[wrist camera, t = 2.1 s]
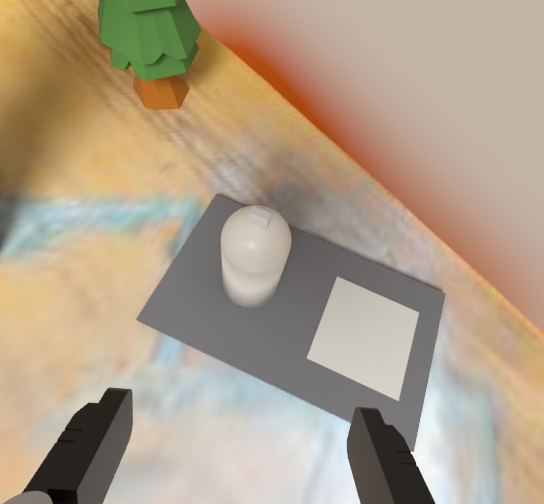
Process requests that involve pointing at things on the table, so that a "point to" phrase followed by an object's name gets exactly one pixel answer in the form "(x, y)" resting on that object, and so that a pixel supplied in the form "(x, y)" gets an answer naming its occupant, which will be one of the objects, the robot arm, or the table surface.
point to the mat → (308, 324)
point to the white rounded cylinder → (253, 254)
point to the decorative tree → (151, 45)
